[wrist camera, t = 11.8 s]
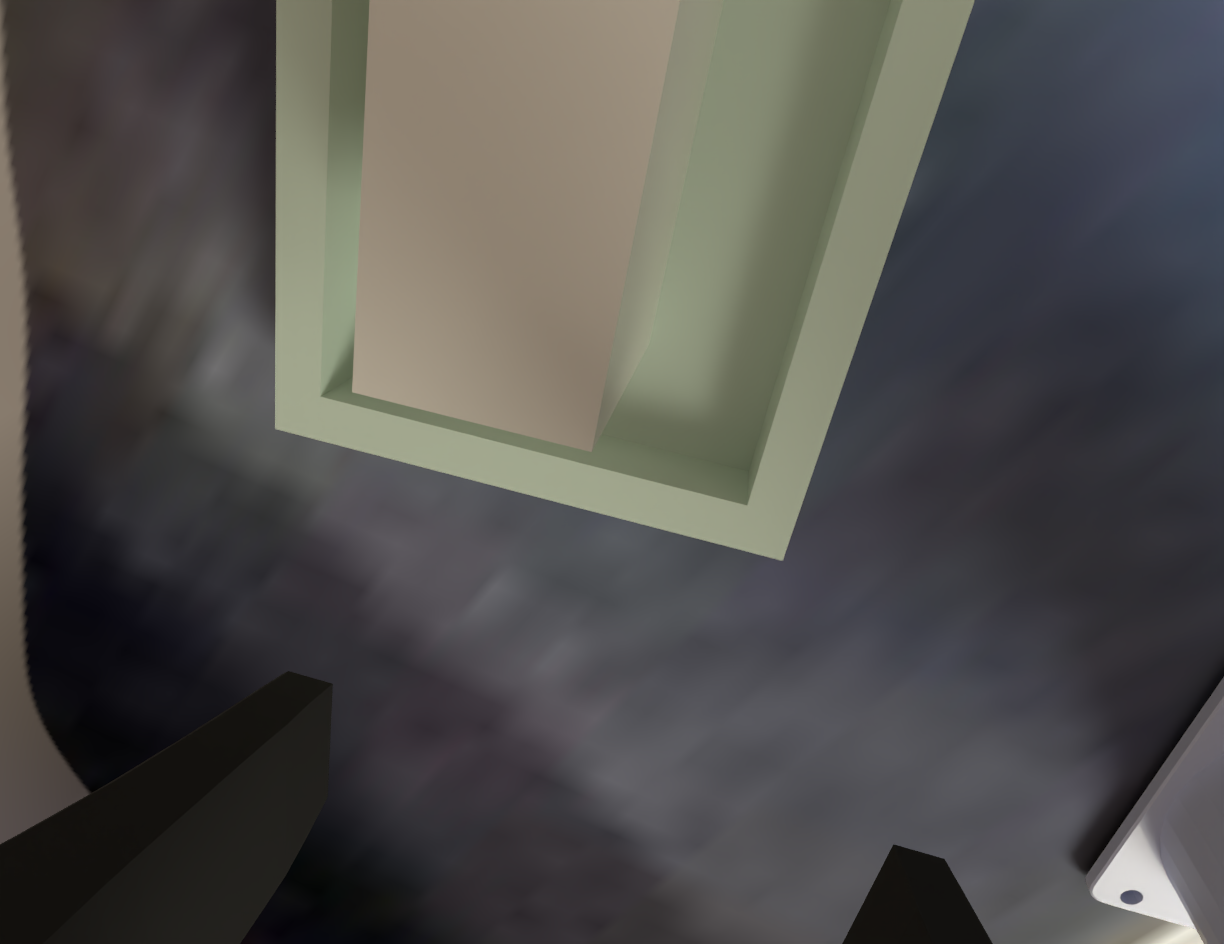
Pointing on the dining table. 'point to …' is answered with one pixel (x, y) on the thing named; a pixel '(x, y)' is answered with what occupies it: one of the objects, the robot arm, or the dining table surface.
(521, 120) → the beige rectangular block
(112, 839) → the robot arm
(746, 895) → the dining table surface
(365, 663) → the dining table surface
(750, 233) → the tray
